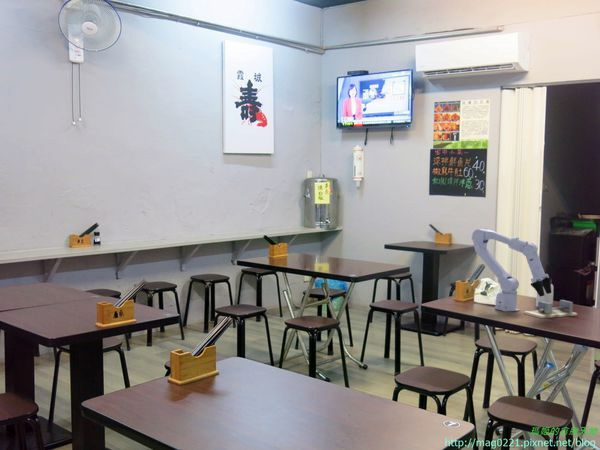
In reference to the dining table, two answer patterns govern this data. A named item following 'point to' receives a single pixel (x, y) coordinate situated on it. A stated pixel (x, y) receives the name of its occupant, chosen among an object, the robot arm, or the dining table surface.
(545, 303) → the grey block with hole
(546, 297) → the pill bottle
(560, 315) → the bolt board
